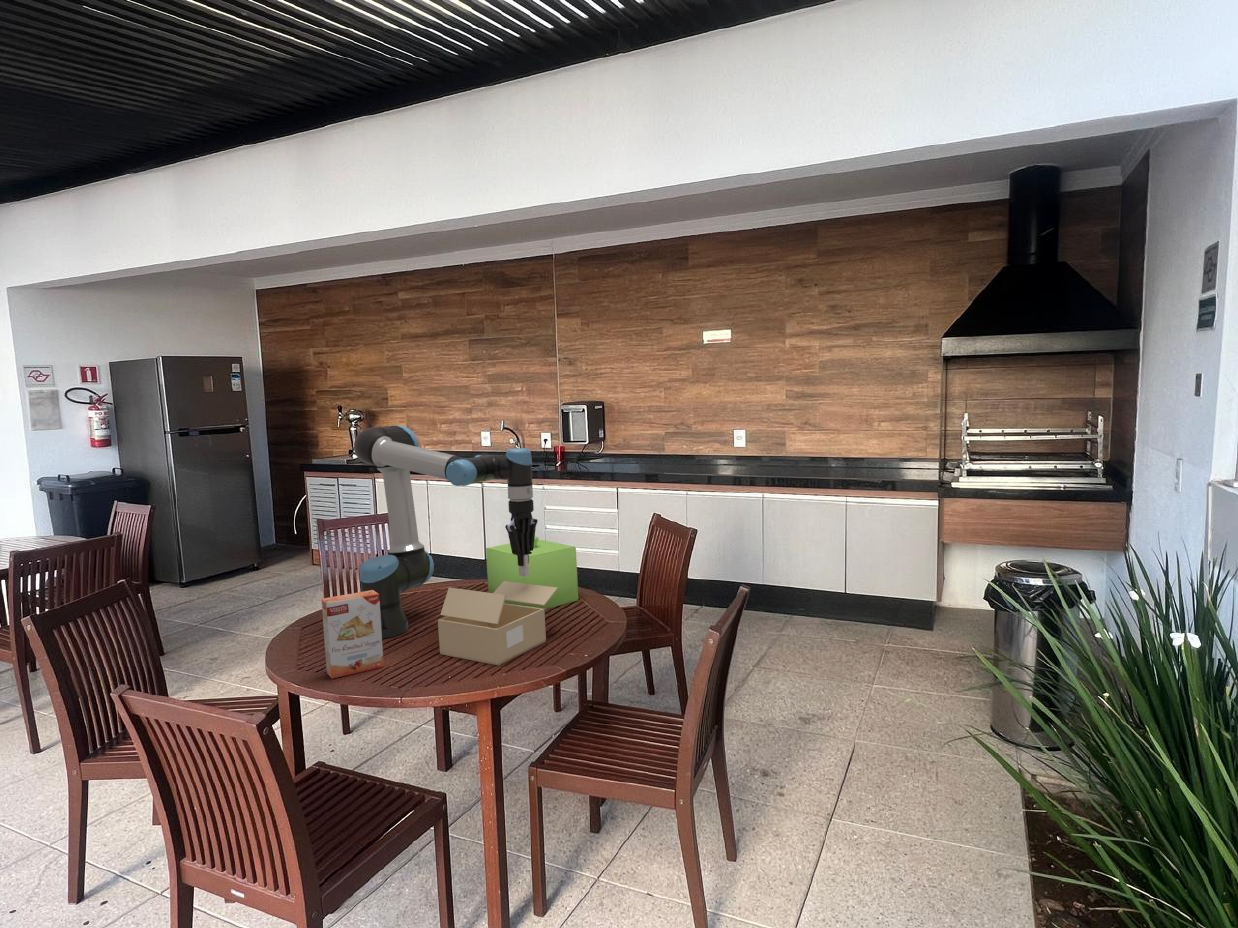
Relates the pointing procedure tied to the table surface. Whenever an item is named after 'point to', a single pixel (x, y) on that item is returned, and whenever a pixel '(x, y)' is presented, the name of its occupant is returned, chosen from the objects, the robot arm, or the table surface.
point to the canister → (536, 570)
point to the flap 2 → (526, 593)
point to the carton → (493, 635)
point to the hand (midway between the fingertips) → (523, 575)
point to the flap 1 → (473, 605)
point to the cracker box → (352, 633)
